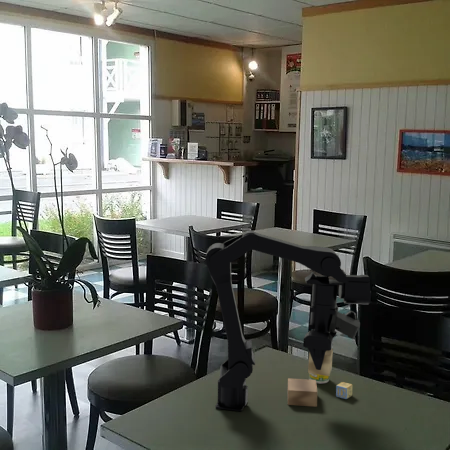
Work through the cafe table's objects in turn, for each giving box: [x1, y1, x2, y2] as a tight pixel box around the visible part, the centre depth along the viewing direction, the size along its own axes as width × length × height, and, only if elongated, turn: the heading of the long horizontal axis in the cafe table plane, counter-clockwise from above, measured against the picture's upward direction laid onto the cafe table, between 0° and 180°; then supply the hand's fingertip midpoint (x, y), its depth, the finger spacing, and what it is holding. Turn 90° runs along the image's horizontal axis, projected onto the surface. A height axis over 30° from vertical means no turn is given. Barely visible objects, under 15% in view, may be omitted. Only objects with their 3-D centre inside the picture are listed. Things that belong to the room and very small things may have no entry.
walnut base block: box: [287, 377, 318, 408], centre depth 143 cm, size 7×7×4 cm
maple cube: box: [307, 347, 334, 377], centre depth 137 cm, size 5×5×5 cm
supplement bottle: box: [308, 373, 330, 384], centre depth 154 cm, size 5×5×10 cm
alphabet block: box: [335, 381, 353, 400], centre depth 145 cm, size 3×3×3 cm
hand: (319, 365), depth 137 cm, fingers closed on maple cube, 5 cm apart
